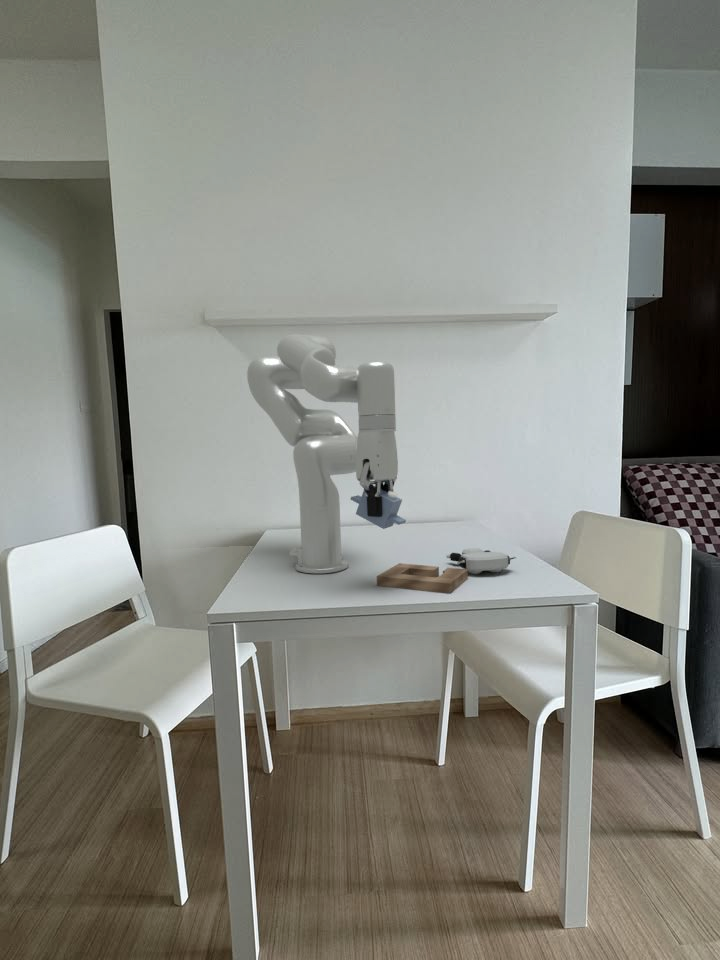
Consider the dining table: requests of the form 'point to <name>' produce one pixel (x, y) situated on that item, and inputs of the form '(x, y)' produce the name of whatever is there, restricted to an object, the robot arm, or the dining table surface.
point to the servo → (388, 509)
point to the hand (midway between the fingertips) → (380, 513)
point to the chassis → (422, 578)
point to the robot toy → (481, 560)
